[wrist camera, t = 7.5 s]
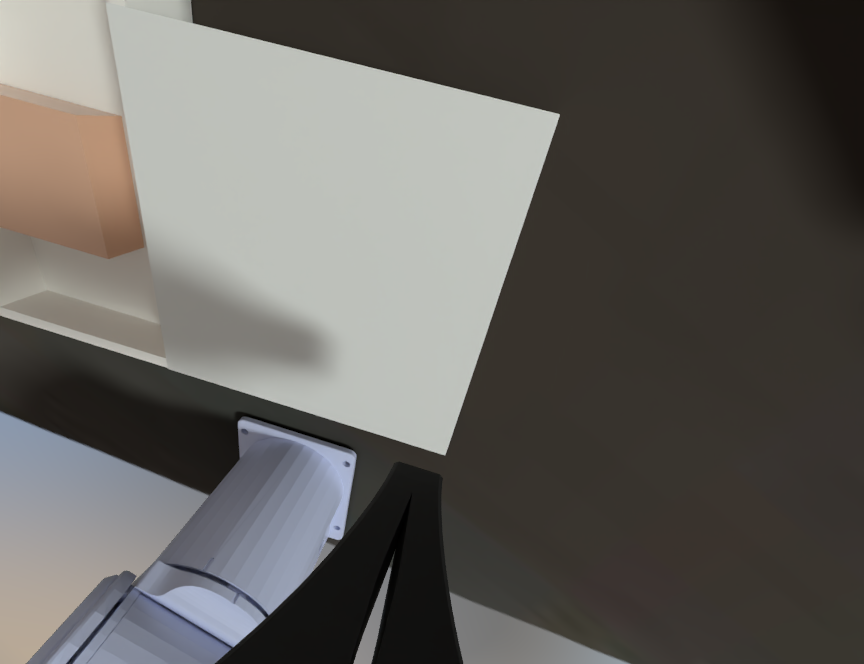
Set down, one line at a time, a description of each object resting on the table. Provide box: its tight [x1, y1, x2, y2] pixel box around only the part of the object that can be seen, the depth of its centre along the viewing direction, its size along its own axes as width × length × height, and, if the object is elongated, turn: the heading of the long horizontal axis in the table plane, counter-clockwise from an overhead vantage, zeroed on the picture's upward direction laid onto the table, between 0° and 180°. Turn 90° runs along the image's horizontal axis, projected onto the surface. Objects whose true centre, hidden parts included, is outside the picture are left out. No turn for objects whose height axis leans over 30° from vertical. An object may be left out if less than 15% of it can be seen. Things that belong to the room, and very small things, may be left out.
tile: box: [0, 83, 144, 259], centre depth 17 cm, size 6×6×2 cm
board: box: [105, 2, 560, 455], centre depth 16 cm, size 14×14×4 cm
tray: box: [0, 0, 193, 368], centre depth 18 cm, size 16×11×3 cm
